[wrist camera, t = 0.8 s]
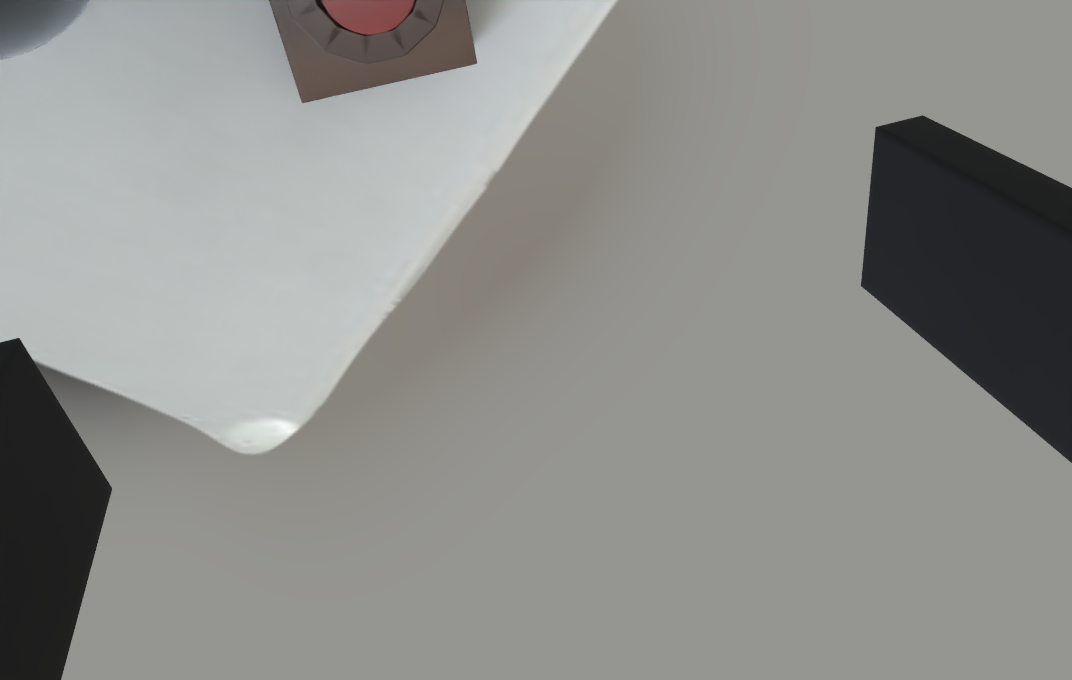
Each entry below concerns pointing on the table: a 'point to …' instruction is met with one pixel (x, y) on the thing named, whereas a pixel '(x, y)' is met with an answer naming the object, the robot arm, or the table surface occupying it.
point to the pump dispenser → (34, 23)
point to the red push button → (369, 14)
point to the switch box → (371, 46)
